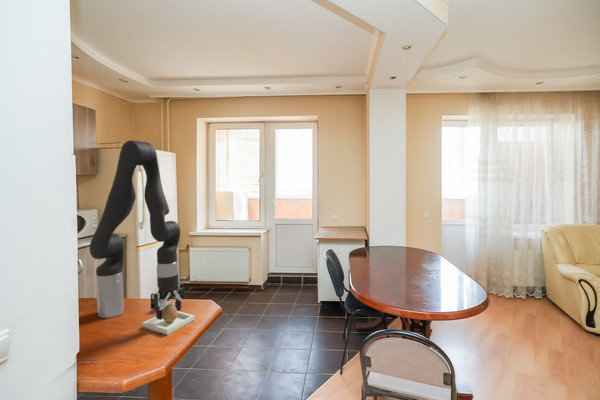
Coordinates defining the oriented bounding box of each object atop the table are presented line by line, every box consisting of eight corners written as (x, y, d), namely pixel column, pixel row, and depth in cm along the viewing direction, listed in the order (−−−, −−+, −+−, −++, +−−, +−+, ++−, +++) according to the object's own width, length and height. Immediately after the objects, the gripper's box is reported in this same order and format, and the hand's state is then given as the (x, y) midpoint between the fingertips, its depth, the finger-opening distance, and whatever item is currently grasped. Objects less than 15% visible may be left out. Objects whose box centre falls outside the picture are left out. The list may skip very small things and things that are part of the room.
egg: (161, 326, 119) (160, 308, 119) (164, 319, 124) (163, 302, 124) (176, 324, 120) (176, 306, 120) (178, 318, 126) (177, 301, 125)
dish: (143, 327, 119) (142, 322, 119) (171, 314, 131) (171, 309, 131) (167, 335, 113) (167, 329, 113) (194, 320, 125) (194, 315, 125)
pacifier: (154, 308, 138) (154, 313, 132) (153, 294, 137) (154, 298, 132) (172, 305, 141) (173, 309, 136) (171, 291, 141) (172, 295, 135)
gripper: (175, 267, 129) (177, 306, 130) (144, 277, 116) (146, 320, 117) (189, 269, 125) (190, 309, 126) (158, 280, 113) (160, 324, 114)
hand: (169, 314), depth 122 cm, fingers open, 8 cm apart
